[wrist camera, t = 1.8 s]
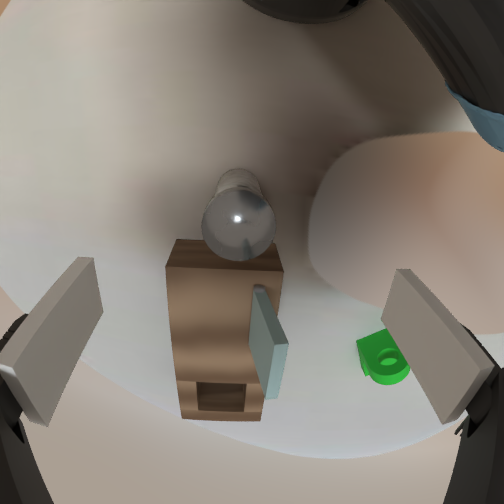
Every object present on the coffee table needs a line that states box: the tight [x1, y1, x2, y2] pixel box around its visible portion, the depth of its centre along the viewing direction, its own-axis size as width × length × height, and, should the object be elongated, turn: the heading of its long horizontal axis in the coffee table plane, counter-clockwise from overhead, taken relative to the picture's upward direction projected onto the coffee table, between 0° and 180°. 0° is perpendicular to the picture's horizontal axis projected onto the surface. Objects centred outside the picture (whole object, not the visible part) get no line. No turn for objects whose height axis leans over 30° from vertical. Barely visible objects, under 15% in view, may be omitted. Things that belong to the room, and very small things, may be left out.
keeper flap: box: [248, 285, 289, 400], centre depth 25 cm, size 6×1×8 cm, turn 176°
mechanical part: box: [356, 328, 410, 385], centre depth 35 cm, size 12×6×8 cm, turn 111°
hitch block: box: [165, 239, 284, 421], centre depth 33 cm, size 22×10×6 cm, turn 176°
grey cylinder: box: [202, 169, 276, 261], centre depth 25 cm, size 5×5×10 cm
